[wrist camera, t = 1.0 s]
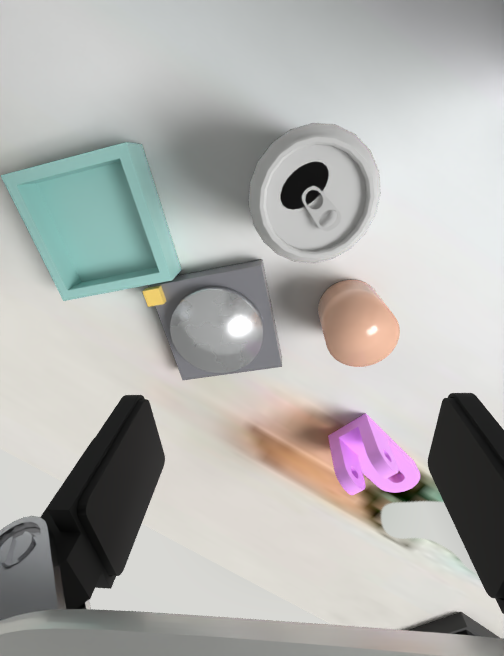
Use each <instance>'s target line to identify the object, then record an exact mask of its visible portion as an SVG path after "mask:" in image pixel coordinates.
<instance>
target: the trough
mask: <svg viewBox="0 0 504 656" xmlns="http://www.w3.org/2000/svg"><path fill="white" fill-rule="evenodd" d="M1 178H2V179H3V181H4V183H5V185H6V187H7V189H8V191H9V193H10V195H11V197H12V199H13V201H14V203H15V205H16V207H17V209H18V211H19V213H20V215H21V217H22V219H23V221H24V223H25V225H26V227H27V229H28V231H29V233H30V235H31V237H32V239H33V241H34V243H35V245H36V247H37V249H38V251H39V253H40V255H41V257H42V259H43V261H44V263H45V265H46V267H47V269H48V271H49V273H50V275H51V277H52V279H53V281H54V283H55V285H56V287H57V289H58V291H59V293H60V295H61V297H62V299H63V301H66V300H71V299H76V298H82V297H87V296H92V295H98V294H103V293H108V292H113V291H119V290H124V289H129V288H134V287H140V286H145V285H150V284H156V283H161V282H166V281H171V280H173V279H174V278H175V277H176V276H177V274H178V273H179V272H180V271H181V270H182V269H181V266H180V263H179V260H178V257H177V254H176V250H175V247H174V244H173V241H172V238H171V235H170V231H169V228H168V225H167V222H166V219H165V216H164V212H163V209H162V206H161V203H160V200H159V197H158V193H157V190H156V187H155V184H154V181H153V178H152V174H151V171H150V168H149V165H148V162H147V159H146V156H145V152H144V149H143V146H142V144H136V143H129V142H125V143H121V144H117V145H113V146H110V147H106V148H102V149H98V150H95V151H91V152H87V153H83V154H80V155H76V156H72V157H68V158H65V159H61V160H57V161H53V162H50V163H46V164H42V165H38V166H35V167H31V168H27V169H23V170H20V171H16V172H12V173H8V174H5V175H1Z"/></svg>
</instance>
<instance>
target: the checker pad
mask: <svg viewBox="0 0 504 656" xmlns="http://www.w3.org/2000/svg"><path fill="white" fill-rule="evenodd" d="M170 333H171V338H172V341H173V344H174V346H175V348H176V349H177V351H178V352H179V354H180V355H181V356H182V357H183V358H184V359H185V360H186V361H188V362H189V363H190V364H192V365H193V366H195V367H197V368H199V369H202V370H205V371H209V372H214V373H227V372H232V371H236V370H238V369H241V368H243V367H244V366H246V365H248V364H249V363H250V362H251V361H252V360H253V359H254V358H255V357H256V355H257V354H258V352H259V350H260V348H261V344H262V339H263V322H262V318H261V315H260V313H259V311H258V309H257V308H256V306H255V305H254V304H253V303H252V301H251V300H249V299H248V298H247V297H246V296H245V295H243V294H242V293H240V292H238V291H236V290H234V289H231V288H228V287H223V286H206V287H202V288H199V289H196V290H194V291H192V292H191V293H189V294H188V295H187V296H185V297H184V298H183V299H182V300H181V302H180V303H179V305H178V306H177V308H176V309H175V311H174V313H173V315H172V318H171V323H170Z"/></svg>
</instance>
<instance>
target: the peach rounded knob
mask: <svg viewBox="0 0 504 656" xmlns="http://www.w3.org/2000/svg"><path fill="white" fill-rule="evenodd" d="M318 315H319V319H320V323H321V326H322V330H323V334H324V337H325V341H326V345H327V348H328V350H329V352H330V354H331V355H332V356H333V357H334V358H335V359H336V360H338V361H339V362H341V363H343V364H345V365H349V366H354V367H363V366H369V365H372V364H375V363H377V362H379V361H381V360H383V359H384V358H386V357H387V356H388V355H389V354H390V353H391V352H392V351H393V349H394V348H395V346H396V344H397V342H398V339H399V333H400V330H399V324H398V322H397V319H396V318H395V316H394V315H393V314H392V312H391V311H390V310H389V308H388V307H387V306H386V304H385V303H384V302H383V301H382V299H381V298H380V297H379V295H378V294H377V293H376V291H375V290H374V289H373V288H372V287H371V286H370V285H368V284H367V283H365V282H363V281H359V280H344V281H340V282H338V283H336V284H334V285H332V286H331V287H329V288H328V289H327V290H326V291H325V292H324V294H323V295H322V297H321V299H320V301H319V305H318Z"/></svg>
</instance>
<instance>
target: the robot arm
mask: <svg viewBox="0 0 504 656" xmlns="http://www.w3.org/2000/svg"><path fill="white" fill-rule="evenodd" d="M164 462H165V456H164V452H163V448H162V445H161V441H160V438H159V434H158V431H157V427H156V424H155V420H154V417H153V413H152V410H151V406H150V403H149V401H148V400H146V399H144V397H143V396H142V395H125V396H123V397H122V398H121V400H120V401H119V403H118V404H117V406H116V407H115V409H114V410H113V412H112V413H111V415H110V416H109V418H108V419H107V421H106V422H105V424H104V425H103V427H102V428H101V430H100V431H99V433H98V434H97V436H96V437H95V438H94V439H93V440H92V442H91V443H90V445H89V446H88V448H87V449H86V451H85V452H84V453H83V455H82V456H81V458H80V459H79V461H78V462H77V464H76V465H75V467H74V468H73V470H72V471H71V473H70V474H69V476H68V477H67V479H66V480H65V482H64V483H63V485H62V486H61V488H60V489H59V491H58V492H57V493H56V495H55V496H54V498H53V499H52V501H51V502H50V504H49V505H48V507H47V508H46V510H45V511H44V513H43V515H42V516H41V517H36V516H29V517H24V518H21V519H19V520H16V521H14V522H12V523H11V524H9V525H7V526H6V527H4V528H3V529H2V530H0V656H504V639H502V638H491V637H481V636H470V635H459V634H446V633H433V632H420V631H407V630H394V629H381V628H368V627H355V626H341V625H327V624H313V623H298V622H285V621H271V620H256V619H243V618H228V617H213V616H198V615H181V614H167V613H152V612H136V611H135V612H134V611H113V610H91V608H90V603H89V599H90V598H91V596H92V593H93V591H94V589H95V587H98V588H111V587H112V585H113V582H114V580H115V577H116V576H119V575H120V574H121V573H122V572H123V570H124V567H125V565H126V562H127V559H128V557H129V554H130V552H131V549H132V547H133V544H134V542H135V539H136V536H137V534H138V531H139V528H140V526H141V523H142V521H143V518H144V516H145V513H146V511H147V508H148V505H149V503H150V500H151V498H152V495H153V492H154V490H155V487H156V485H157V482H158V480H159V477H160V474H161V472H162V469H163V466H164ZM428 467H429V471H430V473H431V475H432V477H433V480H434V482H435V484H436V486H437V488H438V490H439V492H440V494H441V497H442V499H443V501H444V503H445V505H446V507H447V509H448V512H449V514H450V516H451V518H452V520H453V522H454V524H455V527H456V529H457V530H458V533H459V535H460V537H461V539H462V541H463V543H464V545H465V548H466V550H467V552H468V554H469V556H470V559H471V561H472V563H473V565H474V567H475V569H476V571H477V574H478V576H479V578H480V580H481V582H482V584H483V586H484V588H485V590H486V592H487V593H488V595H489V596H490V597H491V598H496V601H497V603H498V605H499V607H500V609H501V611H502V613H503V614H504V430H503V429H502V427H501V426H500V425H499V424H498V422H497V421H496V420H495V419H494V418H493V416H492V415H491V414H490V413H489V411H488V410H487V409H486V408H485V406H484V405H483V404H482V403H481V401H480V400H479V399H478V398H477V397H476V396H475V395H474V394H472V393H451V394H450V395H449V396H448V398H444V399H443V401H442V404H441V408H440V412H439V417H438V421H437V425H436V429H435V433H434V437H433V441H432V445H431V449H430V453H429V457H428Z"/></svg>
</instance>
